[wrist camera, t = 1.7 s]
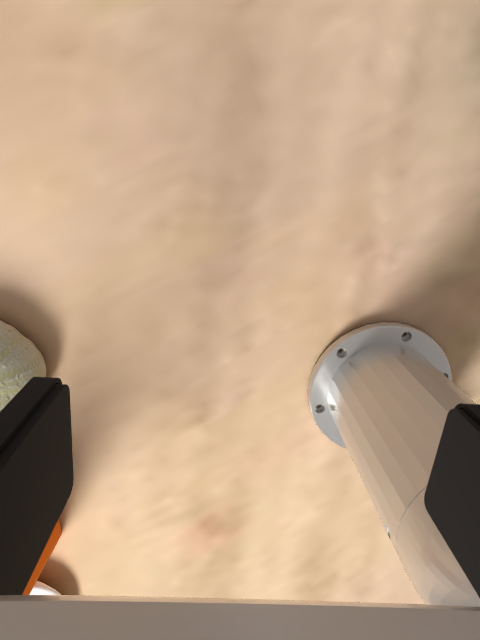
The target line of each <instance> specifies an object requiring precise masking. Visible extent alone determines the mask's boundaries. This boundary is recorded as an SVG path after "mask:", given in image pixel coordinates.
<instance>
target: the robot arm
mask: <svg viewBox="0 0 480 640" xmlns="http://www.w3.org/2000/svg"><path fill="white" fill-rule="evenodd" d="M403 333H404V334H403ZM402 334H403V335H402ZM339 349H341V350H340V351H338V350H339ZM308 404H309V407H310V411H311V414H312V416H313V418H314V421H315V423H316V425H317V426H318V428H319V429H320V430H321V432H322V433H323V434H324V435H325V436H326V437H327V438H328V439H329V440H331V441H332V442H334V443H336V444H337V445H339V446H341V447H344V448H347V449H348V451H349V453H350V455H351V458H352V460H353V462H354V464H355V466H356V468H357V470H358V472H359V474H360V477H361V479H362V481H363V483H364V485H365V487H366V489H367V491H368V493H369V495H370V498H371V500H372V502H373V504H374V506H375V508H376V510H377V512H378V514H379V516H380V519H381V521H382V523H383V525H384V527H385V529H386V531H387V533H388V535H389V537H390V540H391V542H392V544H393V546H394V548H395V550H396V552H397V554H398V556H399V558H400V560H401V562H402V564H403V567H404V569H405V571H406V573H407V575H408V577H409V579H410V581H411V583H412V584H413V586H414V588H415V590H416V591H417V593H418V594H419V595H420V597H421V598H422V600H423V601H424V602H425V604H426V605H423V604H392V603H360V602H327V601H293V600H258V599H218V598H176V597H135V596H85V595H22V594H23V592H24V590H25V588H26V586H27V584H28V582H29V580H30V578H31V575H32V573H33V571H34V569H35V567H36V565H37V563H38V561H39V559H40V557H41V555H42V553H43V550H44V548H45V546H46V544H47V542H48V540H49V538H50V536H51V534H52V532H53V530H54V527H55V525H56V523H57V521H58V519H59V517H60V515H61V513H62V511H63V509H64V507H65V504H66V502H67V500H68V498H69V496H70V494H71V491H72V486H73V457H72V435H71V412H70V391H69V386H68V385H63V384H62V382H61V380H60V379H59V378H48V377H33V378H31V379H30V380H29V381H28V383H27V384H26V385H25V386H24V387H23V388H22V389H21V390H20V391H19V392H18V393H17V394H16V395H15V396H14V397H13V398H12V400H11V401H10V402H9V403H8V404H7V405H6V406H5V407H4V408H3V409H2V410H1V411H0V640H480V405H479V404H476V403H474V402H473V401H472V400H471V399H470V398H469V397H468V396H467V395H466V394H465V393H463V392H462V391H461V390H460V389H459V388H458V387H457V386H456V385H455V384H454V383H452V375H451V368H450V364H449V361H448V359H447V356H446V354H445V353H444V351H443V350H442V348H441V347H440V346H439V345H438V344H437V343H436V342H435V341H434V340H433V339H432V338H431V337H429V336H428V335H427V334H425V333H424V332H422V331H421V330H419V329H417V328H414V327H412V326H410V325H406V324H401V323H396V322H380V323H374V324H368V325H365V326H362V327H359V328H357V329H354V330H352V331H350V332H348V333H347V334H345V335H343V336H341V337H340V338H339V339H337V340H336V341H335V342H334V343H332V344H331V345H330V346H329V347H328V348H327V349H326V351H325V352H324V353H323V354H322V355H321V356H320V358H319V360H318V361H317V363H316V365H315V366H314V368H313V371H312V374H311V376H310V379H309V385H308Z"/></svg>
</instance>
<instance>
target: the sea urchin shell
mask: <svg viewBox="0 0 480 640" xmlns="http://www.w3.org/2000/svg"><path fill="white" fill-rule="evenodd" d="M33 377H46V365H45V361H44V358H43V356H42V354H41V353H40V351H39V350H38V349H37V348H36V346H35V345H34V344H33V342H32V341H31V340H29V339H27V338H26V337H24V336H23V335H22V334H21V333H20V332H19V331H18V330H17V329H16V328H14V327H12V326H11V325H8V324H6V323H4V322H3V321H1V320H0V411H1V410H2V409H3V408H4V407H5V406H6V405H7V404H8V403H9V402H10V401H11V400H12V398H13V397H14V396H15V395H16V394H17V393H18V392H19V391H20V390H21V389H22V388H23V387H24V386H25V385H26V384H27V383H28V381H29V380H30V379H31V378H33Z"/></svg>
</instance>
